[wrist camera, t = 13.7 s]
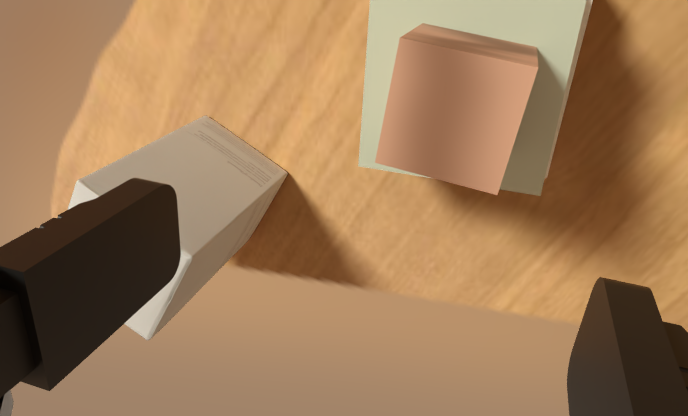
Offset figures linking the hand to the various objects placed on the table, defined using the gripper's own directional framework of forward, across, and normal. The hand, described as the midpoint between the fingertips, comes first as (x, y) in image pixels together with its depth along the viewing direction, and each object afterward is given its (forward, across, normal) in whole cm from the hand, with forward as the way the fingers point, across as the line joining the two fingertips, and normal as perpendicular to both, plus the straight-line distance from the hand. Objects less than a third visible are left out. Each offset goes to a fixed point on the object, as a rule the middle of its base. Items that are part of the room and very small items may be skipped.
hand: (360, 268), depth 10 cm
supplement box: (+24, +16, +11) cm, 31 cm away
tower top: (+21, 0, 0) cm, 21 cm away
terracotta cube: (+17, 0, 0) cm, 17 cm away
